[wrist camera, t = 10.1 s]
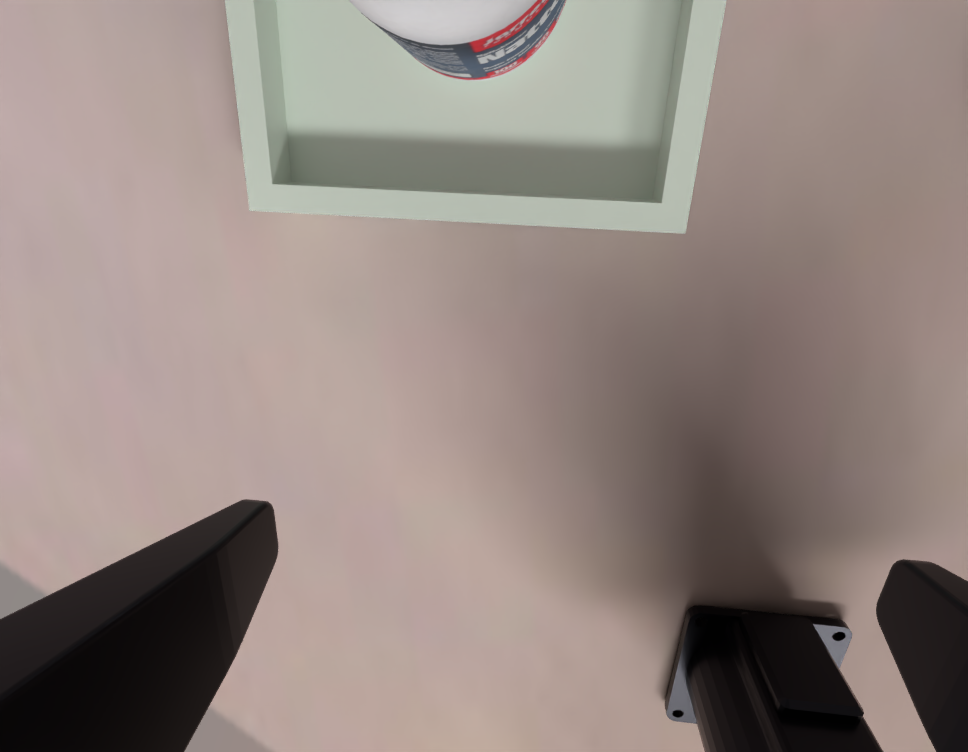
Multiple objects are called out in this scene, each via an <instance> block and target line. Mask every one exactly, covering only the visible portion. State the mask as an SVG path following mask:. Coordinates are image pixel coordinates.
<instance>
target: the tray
mask: <svg viewBox="0 0 968 752" xmlns="http://www.w3.org/2000/svg"><path fill="white" fill-rule="evenodd" d="M725 6H726V0H566V3H565V6H564V8H563V11H562V13H561V16H560V18H559V20H558V22H557V24H556V27H555V28H554V30H553V32H552V33H551V35H550V36H549V38H548V39H547V41H546V42H545V43H544V45H543V46H542V47H541V48H540V49H539V51H538V52H537V53H536V54H535V55H534V56H533V57H532V58H530V59H529V60H528V61H527V62H525V63H524V64H523V65H521V66H520V67H519V68H517V69H515V70H514V71H512V72H510V73H508V74H506V75H503V76H500V77H497V78H494V79H490V80H484V81H462V80H456V79H452V78H449V77H446V76H443V75H441V74H438V73H436V72H434V71H432V70H431V69H429V68H427V67H426V66H425V65H423V64H422V63H420V62H419V61H418V60H416V59H415V58H414V57H413V56H412V55H411V54H409V53H408V52H407V51H406V50H405V49H404V48H403V47H401V46H400V45H399V44H398V43H397V42H396V41H394V40H393V39H392V38H391V37H390V36H389V35H387V34H386V33H385V32H384V31H383V30H381V29H380V28H379V27H377V26H376V25H375V24H374V23H372V22H371V21H370V20H369V19H368V18H366V17H365V16H364V15H363V14H362V13H361V12H360V11H359V10H358V9H357V8H356V7H355V6H354V5H353V4H352V3H351V2H350V1H349V0H225V7H226V15H227V24H228V32H229V41H230V49H231V58H232V66H233V75H234V83H235V92H236V100H237V109H238V117H239V126H240V134H241V143H242V151H243V160H244V168H245V177H246V185H247V194H248V202H249V211H263V212H282V213H301V214H320V215H339V216H358V217H377V218H396V219H415V220H434V221H453V222H472V223H491V224H510V225H529V226H548V227H567V228H586V229H605V230H624V231H643V232H662V233H681V234H685V233H686V228H687V222H688V216H689V211H690V205H691V199H692V193H693V188H694V182H695V176H696V171H697V165H698V159H699V154H700V148H701V142H702V137H703V131H704V125H705V119H706V114H707V108H708V102H709V97H710V91H711V85H712V80H713V74H714V68H715V63H716V57H717V51H718V45H719V40H720V34H721V28H722V23H723V17H724V11H725Z"/></svg>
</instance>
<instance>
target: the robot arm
mask: <svg viewBox="0 0 968 752" xmlns="http://www.w3.org/2000/svg"><path fill="white" fill-rule="evenodd" d="M277 555H278V539H277V531H276V523H275V515H274V509H273V506H272V504H270V503H269V502H267V501H259V500H248V499H245V500H241V501H239V502H237V503H235V504H233V505H231V506H229V507H227V508H225V509H223V510H221V511H219V512H217V513H215V514H213V515H211V516H208V517H206V518H204V519H202V520H200V521H198V522H196V523H194V524H192V525H190V526H188V527H186V528H184V529H182V530H180V531H178V532H176V533H174V534H172V535H170V536H168V537H166V538H164V539H162V540H160V541H158V542H156V543H154V544H152V545H150V546H148V547H146V548H144V549H142V550H140V551H137V552H135V553H133V554H131V555H129V556H127V557H125V558H123V559H121V560H119V561H117V562H115V563H113V564H111V565H109V566H107V567H105V568H103V569H101V570H99V571H97V572H95V573H93V574H91V575H89V576H87V577H85V578H83V579H81V580H79V581H77V582H75V583H73V584H71V585H69V586H67V587H64V588H62V589H60V590H58V591H56V592H54V593H52V594H50V595H48V596H46V597H44V598H42V599H41V600H38V601H36V602H34V603H32V604H30V605H28V606H26V607H24V608H22V609H20V610H18V611H16V612H14V613H12V614H10V615H8V616H6V617H4V618H2V619H0V752H184V751H185V749H186V747H187V745H188V744H189V742H190V740H191V738H192V736H193V734H194V733H195V731H196V729H197V727H198V725H199V724H200V722H201V720H202V718H203V716H204V714H205V713H206V711H207V709H208V707H209V705H210V703H211V702H212V700H213V698H214V696H215V694H216V692H217V691H218V689H219V687H220V685H221V683H222V681H223V680H224V678H225V676H226V674H227V672H228V670H229V668H230V666H231V664H232V662H233V660H234V659H235V657H236V654H237V652H238V650H239V648H240V645H241V643H242V641H243V639H244V636H245V634H246V632H247V629H248V627H249V624H250V622H251V620H252V617H253V615H254V612H255V610H256V608H257V605H258V603H259V600H260V598H261V596H262V593H263V591H264V589H265V586H266V584H267V581H268V579H269V577H270V574H271V572H272V569H273V567H274V565H275V562H276V559H277ZM876 614H877V619H878V622H879V625H880V627H881V630H882V632H883V634H884V637H885V639H886V641H887V644H888V646H889V648H890V651H891V653H892V655H893V657H894V660H895V662H896V664H897V667H898V669H899V671H900V674H901V676H902V678H903V680H904V683H905V685H906V687H907V690H908V692H909V694H910V697H911V699H912V701H913V704H914V706H915V708H916V710H917V713H918V715H919V717H920V719H921V722H922V724H923V726H924V728H925V730H926V732H927V734H928V736H929V738H930V740H931V742H932V744H933V746H934V748H935V750H936V752H968V581H966V580H964V579H962V578H961V577H959V576H957V575H955V574H953V573H951V572H950V571H948V570H946V569H944V568H942V567H940V566H939V565H937V564H934V563H931V562H926V561H916V560H899V561H897V562H896V563H894V564H893V566H892V567H891V570H890V572H889V575H888V577H887V579H886V582H885V584H884V587H883V589H882V592H881V594H880V597H879V599H878V602H877V607H876ZM698 618H702V619H698ZM836 632H837V633H836ZM851 638H852V633H851V631H850V629H849V628H848V626H847V625H846V623H845V622H843V621H842V620H838V619H829V618H819V617H809V616H799V615H789V614H779V613H769V612H759V611H749V610H739V609H729V608H719V607H709V606H694V607H691V608H690V609H689V610H688V611H687V613H686V617H685V621H684V626H683V630H682V634H681V638H680V643H679V647H678V651H677V655H676V659H675V664H674V668H673V672H672V676H671V680H670V685H669V689H668V693H667V697H666V701H665V709H666V714H667V716H668V718H669V719H671V720H673V721H678V722H687V723H695V724H697V725H698V729H699V732H700V736H701V739H702V743H703V747H704V750H705V752H883V750H882V749H881V747H880V745H879V743H878V742H877V740H876V738H875V736H874V735H873V733H872V731H871V729H870V728H869V726H868V724H867V723H866V721H865V719H864V717H863V714H864V712H863V709H862V707H861V705H860V704H859V702H858V700H857V699H856V697H855V695H854V694H853V692H852V690H851V688H850V687H849V685H848V683H847V682H846V680H845V678H844V676H843V675H842V673H841V671H840V670H839V668H840V666H841V663H842V661H843V658H844V656H845V653H846V651H847V648H848V646H849V643H850V641H851Z"/></svg>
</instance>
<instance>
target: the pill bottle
mask: <svg viewBox="0 0 968 752" xmlns="http://www.w3.org/2000/svg"><path fill="white" fill-rule="evenodd" d="M349 1H350V2H351V3H352V4H353V5H354V6H355V7H356V8H357V9H358V10H359V11H360V12H361V13H362V14H363V15H364V16H365V17H366V18H368V19H369V20H370V21H371V22H372V23H374V24H375V25H376V26H377V27H379V28H380V29H381V30H383V31H384V32H385V33H386V34H387V35H389V36H390V37H391V38H392V39H393V40H394V41H396V42H397V43H398V44H399V45H400V46H401V47H403V48H404V49H405V50H406V51H407V52H408V53H409V54H411V55H412V56H413V57H414V58H415V59H416V60H418V61H419V62H420V63H422V64H423V65H425V66H426V67H427V68H429V69H431V70H432V71H434V72H436V73H438V74H441V75H443V76H446V77H449V78H452V79H456V80H462V81H484V80H490V79H494V78H497V77H500V76H503V75H506V74H508V73H510V72H512V71H514V70H515V69H517V68H519V67H520V66H521V65H523V64H524V63H525V62H527V61H528V60H529V59H530V58H532V57H533V56H534V55H535V54H536V53H537V52H538V51H539V49H540V48H541V47H542V46H543V45H544V43H545V42H546V41H547V39H548V38H549V36H550V35H551V33H552V32H553V30H554V28H555V27H556V24H557V22H558V20H559V18H560V16H561V13H562V11H563V8H564V6H565V3H566V0H349Z"/></svg>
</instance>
